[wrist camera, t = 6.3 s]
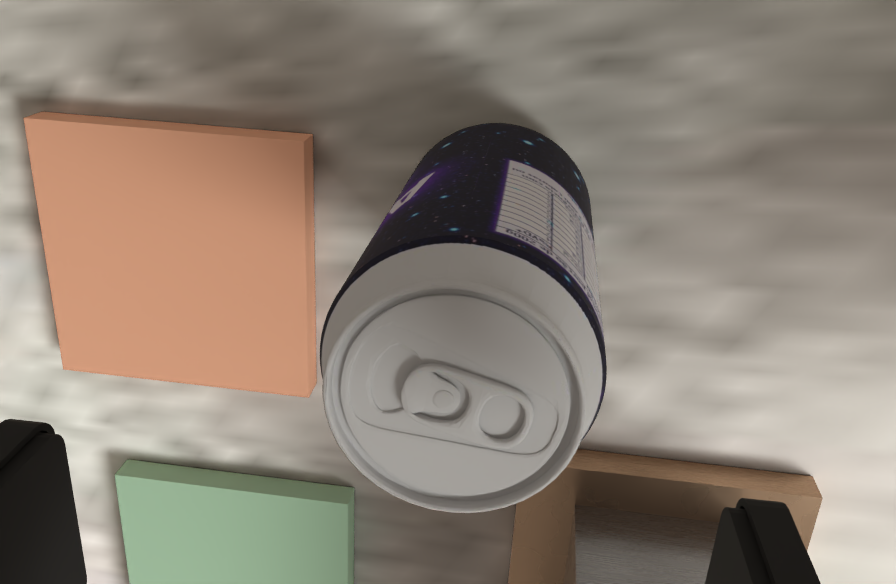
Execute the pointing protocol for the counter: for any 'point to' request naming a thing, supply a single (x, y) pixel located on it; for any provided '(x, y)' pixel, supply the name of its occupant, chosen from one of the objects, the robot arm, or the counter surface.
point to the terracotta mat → (179, 250)
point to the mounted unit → (640, 519)
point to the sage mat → (232, 527)
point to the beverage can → (471, 327)
